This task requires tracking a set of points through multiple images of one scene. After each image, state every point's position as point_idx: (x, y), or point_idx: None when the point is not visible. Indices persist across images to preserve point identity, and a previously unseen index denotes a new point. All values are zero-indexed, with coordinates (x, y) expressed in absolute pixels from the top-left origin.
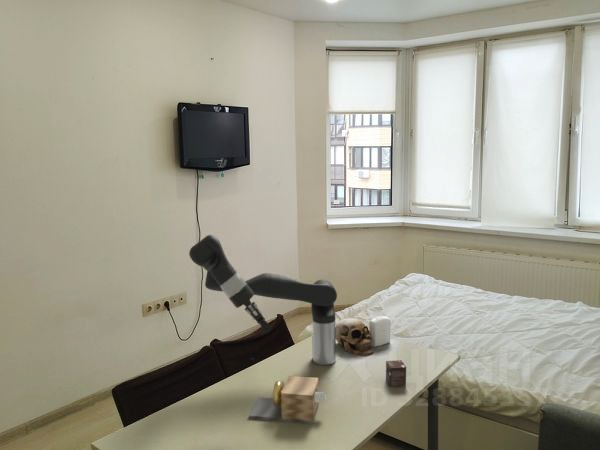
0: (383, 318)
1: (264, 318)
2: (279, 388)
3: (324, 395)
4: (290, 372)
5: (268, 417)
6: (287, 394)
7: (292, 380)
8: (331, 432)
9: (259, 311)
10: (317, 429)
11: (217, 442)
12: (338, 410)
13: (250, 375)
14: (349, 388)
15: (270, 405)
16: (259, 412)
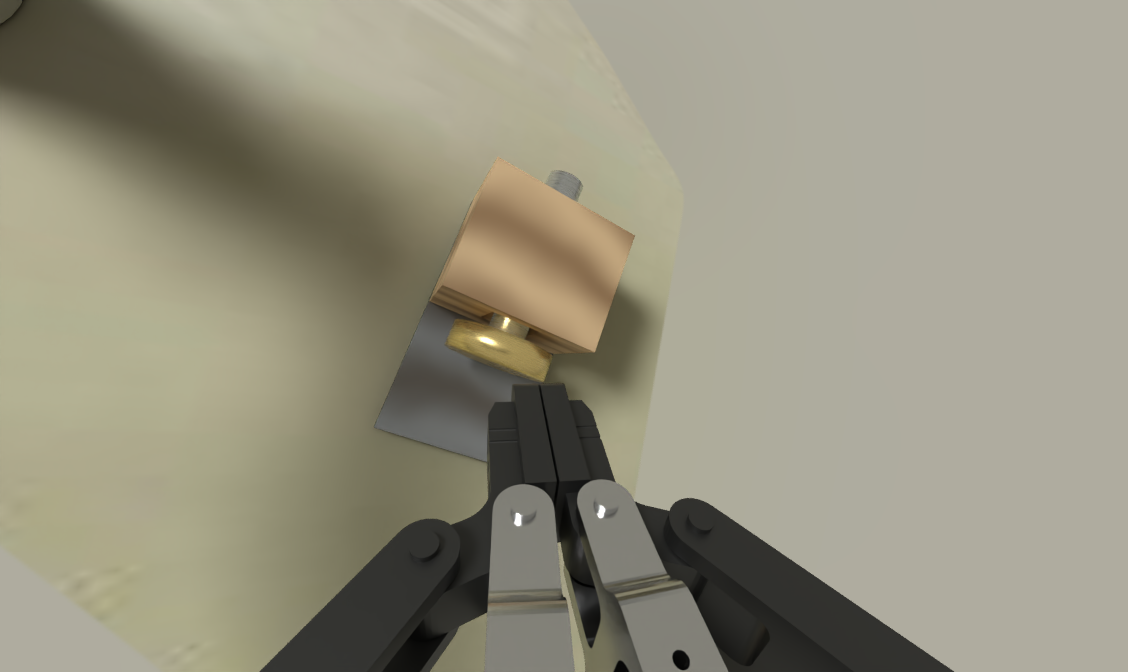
0: None
1: (618, 502)
2: (545, 352)
3: (580, 183)
4: (76, 225)
5: None
6: (601, 328)
7: (495, 280)
8: (631, 224)
9: (709, 662)
10: None
11: None
12: (525, 154)
13: (41, 462)
14: (371, 34)
15: (458, 383)
16: None
